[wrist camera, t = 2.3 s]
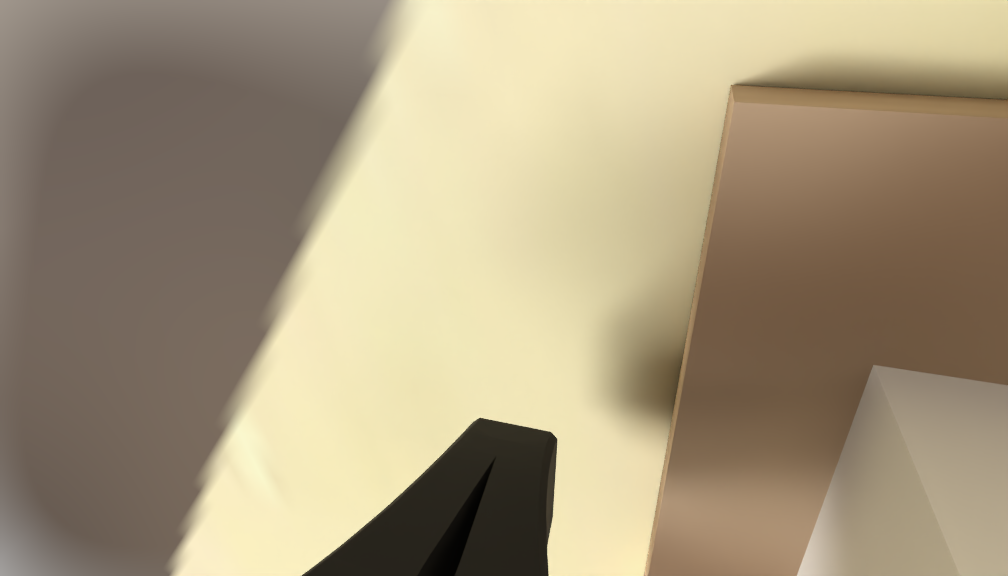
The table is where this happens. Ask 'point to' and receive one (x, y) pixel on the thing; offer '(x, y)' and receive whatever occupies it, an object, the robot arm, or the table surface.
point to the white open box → (918, 482)
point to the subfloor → (824, 304)
